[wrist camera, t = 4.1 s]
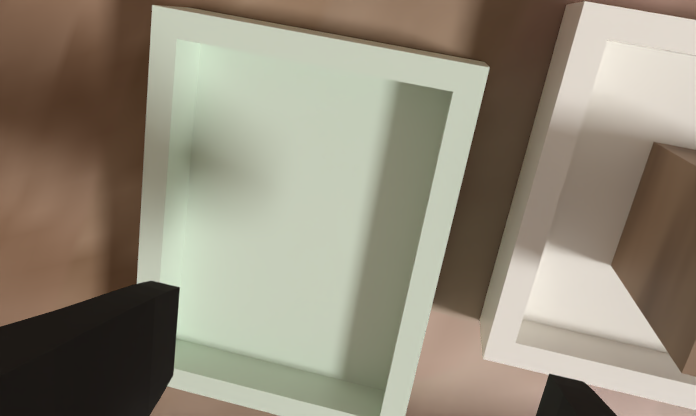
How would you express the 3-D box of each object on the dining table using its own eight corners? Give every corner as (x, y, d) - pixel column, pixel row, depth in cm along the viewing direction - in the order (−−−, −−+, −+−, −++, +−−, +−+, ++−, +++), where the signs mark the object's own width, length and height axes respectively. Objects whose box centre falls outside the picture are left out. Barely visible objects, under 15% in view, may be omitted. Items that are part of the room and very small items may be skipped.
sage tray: (485, 62, 18) (489, 67, 15) (403, 401, 22) (397, 446, 20) (189, 7, 19) (152, 4, 16) (164, 340, 23) (131, 377, 21)
